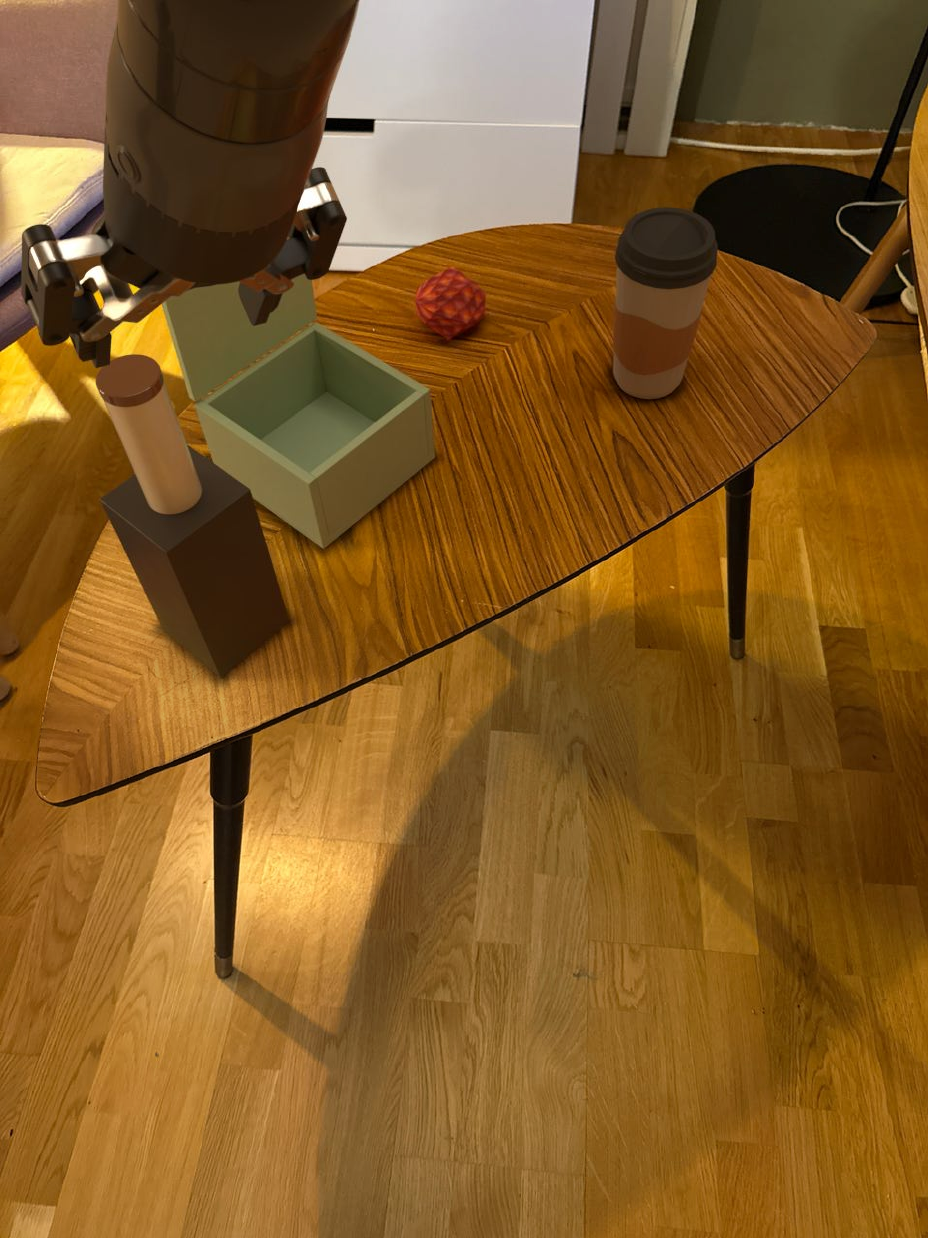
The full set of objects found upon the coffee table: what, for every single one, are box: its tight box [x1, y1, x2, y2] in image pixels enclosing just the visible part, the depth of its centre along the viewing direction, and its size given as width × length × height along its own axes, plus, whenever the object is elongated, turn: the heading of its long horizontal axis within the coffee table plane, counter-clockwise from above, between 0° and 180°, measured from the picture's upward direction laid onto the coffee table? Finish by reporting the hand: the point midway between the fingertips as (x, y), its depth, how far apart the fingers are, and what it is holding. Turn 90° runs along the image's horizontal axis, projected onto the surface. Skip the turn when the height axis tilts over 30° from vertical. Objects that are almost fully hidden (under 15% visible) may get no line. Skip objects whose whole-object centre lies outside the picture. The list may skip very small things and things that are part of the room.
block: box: [99, 443, 291, 680], centre depth 71 cm, size 7×7×15 cm
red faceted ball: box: [414, 265, 487, 341], centre depth 95 cm, size 6×7×8 cm
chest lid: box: [161, 237, 318, 403], centre depth 77 cm, size 14×14×5 cm
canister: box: [95, 353, 202, 514], centre depth 60 cm, size 4×4×10 cm
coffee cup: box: [612, 206, 719, 400], centre depth 86 cm, size 8×8×15 cm
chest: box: [193, 321, 436, 550], centre depth 83 cm, size 14×14×8 cm
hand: (174, 328), depth 52 cm, fingers open, 8 cm apart
